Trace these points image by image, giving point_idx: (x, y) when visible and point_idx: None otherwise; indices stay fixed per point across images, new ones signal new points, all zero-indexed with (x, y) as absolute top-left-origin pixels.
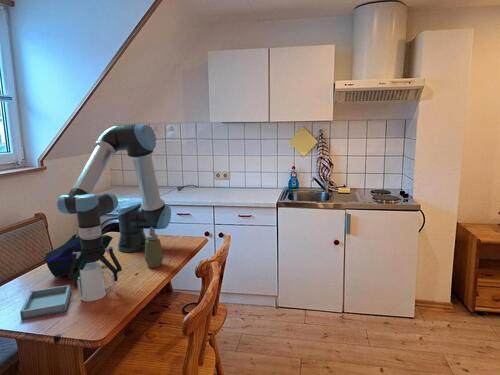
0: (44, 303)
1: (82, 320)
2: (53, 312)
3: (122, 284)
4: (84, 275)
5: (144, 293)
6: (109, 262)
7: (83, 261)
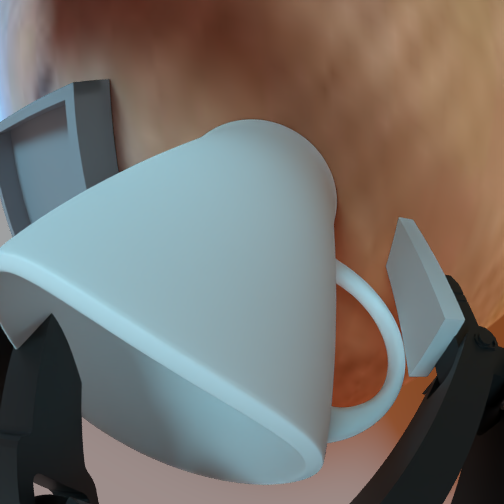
0: (51, 207)
1: None
2: None
3: (461, 107)
4: (135, 398)
5: (495, 307)
6: (447, 480)
7: (56, 493)
